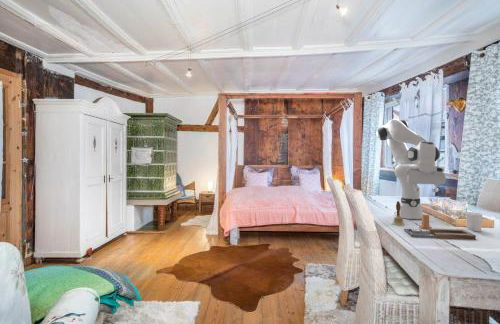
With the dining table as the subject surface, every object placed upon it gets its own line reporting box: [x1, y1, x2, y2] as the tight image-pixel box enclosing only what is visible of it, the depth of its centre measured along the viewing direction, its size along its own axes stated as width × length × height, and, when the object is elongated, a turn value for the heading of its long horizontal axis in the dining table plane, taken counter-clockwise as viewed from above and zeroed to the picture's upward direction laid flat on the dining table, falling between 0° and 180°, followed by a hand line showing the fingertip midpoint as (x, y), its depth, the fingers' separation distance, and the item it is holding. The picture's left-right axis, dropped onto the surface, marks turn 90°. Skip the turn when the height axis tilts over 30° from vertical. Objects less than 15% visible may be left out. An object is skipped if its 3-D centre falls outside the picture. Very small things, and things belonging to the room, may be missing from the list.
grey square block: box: [410, 228, 421, 235], centre depth 161 cm, size 4×4×3 cm
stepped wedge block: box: [418, 213, 433, 229], centre depth 171 cm, size 5×5×10 cm
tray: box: [403, 228, 437, 239], centre depth 161 cm, size 12×12×2 cm
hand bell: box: [390, 200, 405, 226], centre depth 183 cm, size 8×8×16 cm
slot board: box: [427, 227, 477, 241], centre depth 158 cm, size 14×19×3 cm
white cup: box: [465, 211, 483, 232], centre depth 172 cm, size 8×8×10 cm
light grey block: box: [419, 228, 431, 235], centre depth 161 cm, size 4×4×3 cm
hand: (425, 191), depth 171 cm, fingers open, 8 cm apart
